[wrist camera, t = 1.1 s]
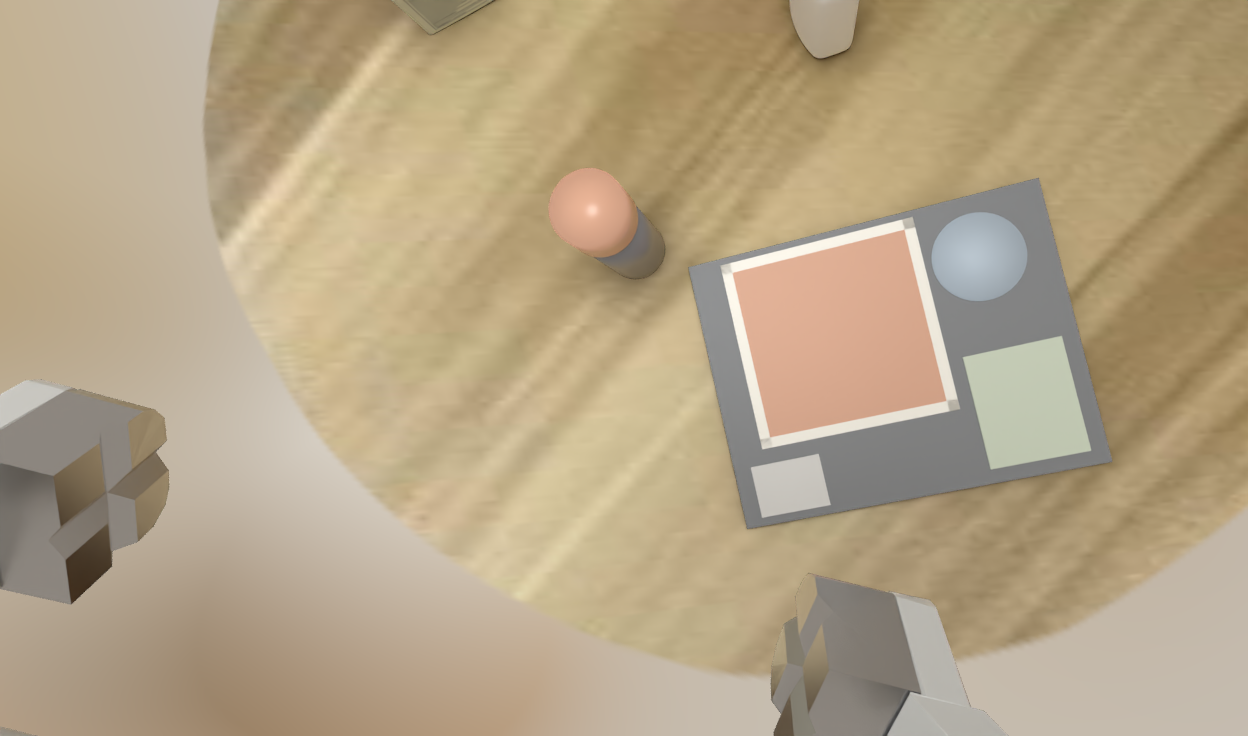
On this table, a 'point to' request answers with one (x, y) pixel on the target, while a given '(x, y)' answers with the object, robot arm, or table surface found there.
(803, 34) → the eye dropper bottle
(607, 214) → the terracotta marker
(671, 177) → the table surface
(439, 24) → the skincare box
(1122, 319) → the table surface
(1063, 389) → the picture board
